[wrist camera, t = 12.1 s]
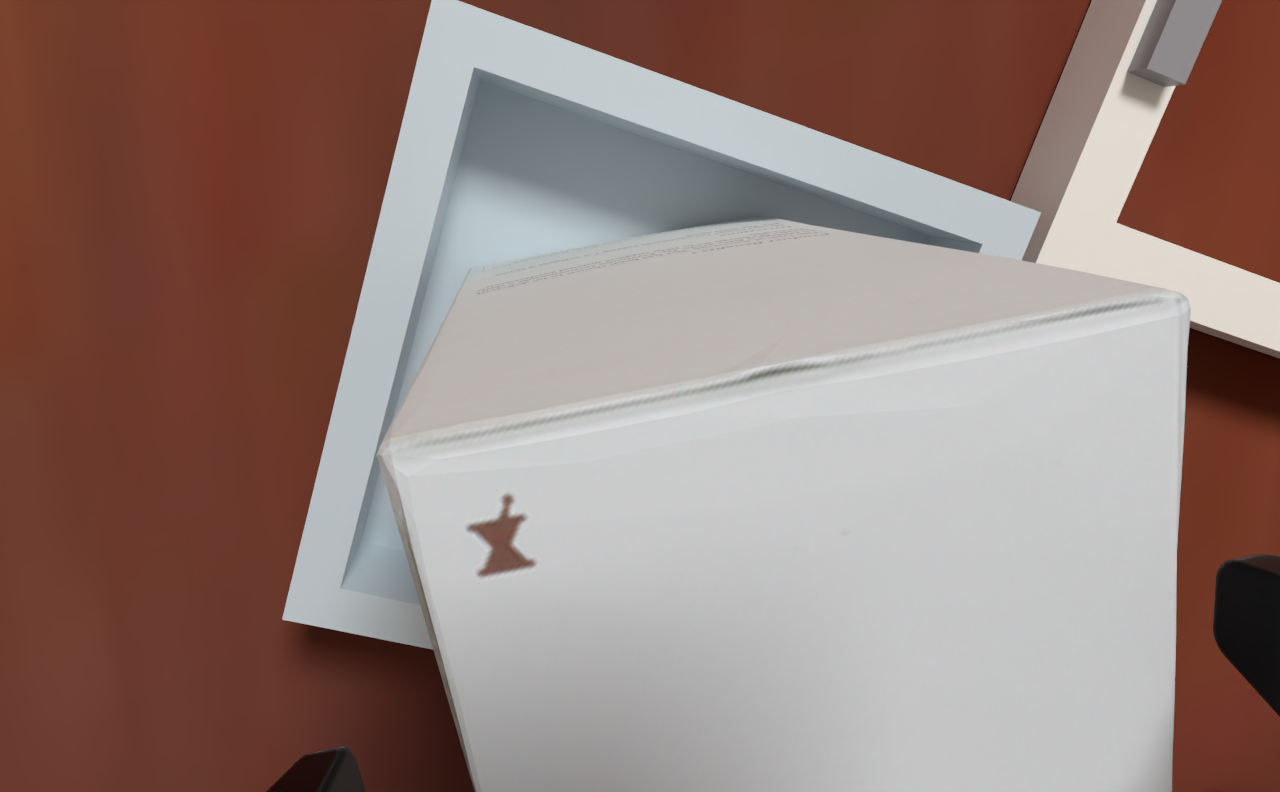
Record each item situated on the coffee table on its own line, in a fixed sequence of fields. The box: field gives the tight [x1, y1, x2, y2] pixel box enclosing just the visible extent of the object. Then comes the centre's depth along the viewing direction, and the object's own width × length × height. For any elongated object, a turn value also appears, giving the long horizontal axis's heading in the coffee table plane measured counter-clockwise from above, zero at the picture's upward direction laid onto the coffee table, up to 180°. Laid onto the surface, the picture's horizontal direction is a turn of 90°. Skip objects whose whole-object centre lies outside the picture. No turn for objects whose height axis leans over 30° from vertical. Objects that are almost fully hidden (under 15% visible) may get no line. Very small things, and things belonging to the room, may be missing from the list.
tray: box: [282, 0, 1041, 650], centre depth 19 cm, size 13×13×3 cm
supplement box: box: [377, 216, 1191, 792], centre depth 14 cm, size 7×7×13 cm
